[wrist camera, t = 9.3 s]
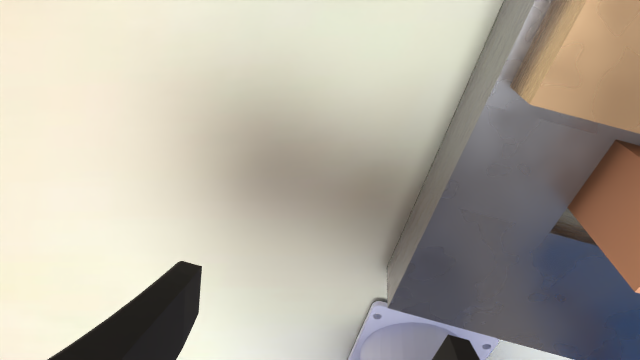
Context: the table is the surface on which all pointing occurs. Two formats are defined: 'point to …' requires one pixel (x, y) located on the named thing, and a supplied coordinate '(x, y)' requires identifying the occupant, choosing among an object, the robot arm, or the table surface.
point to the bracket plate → (529, 186)
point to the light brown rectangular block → (614, 209)
